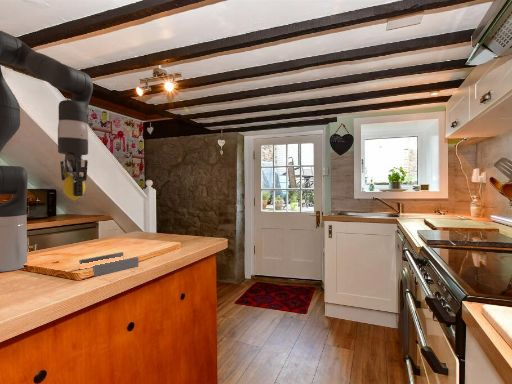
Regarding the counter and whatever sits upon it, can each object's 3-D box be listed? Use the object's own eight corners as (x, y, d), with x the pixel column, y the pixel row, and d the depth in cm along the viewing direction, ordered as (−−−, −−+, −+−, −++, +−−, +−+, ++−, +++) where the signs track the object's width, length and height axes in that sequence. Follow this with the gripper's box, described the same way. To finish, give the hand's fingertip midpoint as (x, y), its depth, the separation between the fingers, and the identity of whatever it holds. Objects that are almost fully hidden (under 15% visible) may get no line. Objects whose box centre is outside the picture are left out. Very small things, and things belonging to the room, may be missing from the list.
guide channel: (79, 269, 94) (79, 260, 94) (121, 260, 105) (121, 252, 105) (94, 276, 87) (94, 266, 87) (138, 266, 98) (138, 257, 98)
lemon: (73, 199, 89) (73, 173, 89) (89, 200, 88) (89, 173, 88) (58, 201, 84) (58, 173, 83) (75, 201, 83) (74, 173, 82)
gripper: (97, 137, 83) (98, 196, 84) (77, 141, 92) (78, 194, 93) (68, 134, 78) (68, 197, 78) (49, 138, 87) (50, 195, 87)
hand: (73, 195), depth 86 cm, fingers closed on lemon, 5 cm apart
